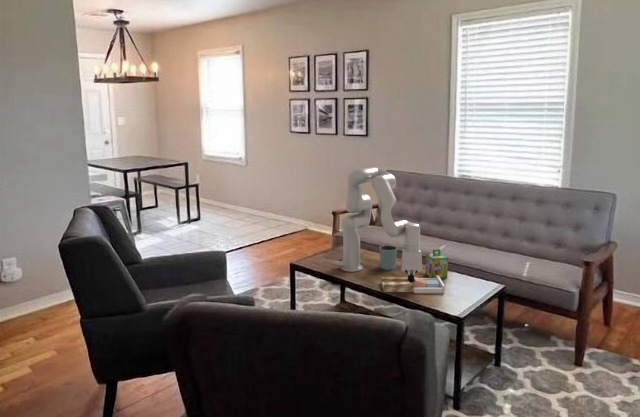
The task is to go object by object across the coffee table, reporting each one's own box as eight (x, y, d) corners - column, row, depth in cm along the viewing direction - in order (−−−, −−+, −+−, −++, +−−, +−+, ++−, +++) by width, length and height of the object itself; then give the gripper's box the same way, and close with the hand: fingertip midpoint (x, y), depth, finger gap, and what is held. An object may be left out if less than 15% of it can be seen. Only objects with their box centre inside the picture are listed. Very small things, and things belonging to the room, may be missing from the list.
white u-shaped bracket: (414, 293, 252) (414, 285, 251) (409, 282, 267) (409, 275, 266) (444, 293, 252) (444, 285, 251) (438, 282, 266) (438, 275, 265)
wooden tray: (383, 291, 254) (383, 285, 253) (381, 283, 266) (381, 277, 265) (413, 291, 253) (413, 285, 253) (410, 283, 265) (410, 277, 264)
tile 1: (413, 286, 256) (415, 280, 255) (411, 282, 262) (413, 276, 261) (424, 290, 256) (426, 283, 255) (422, 285, 262) (424, 279, 261)
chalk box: (432, 279, 271) (433, 253, 268) (424, 274, 280) (425, 248, 277) (447, 277, 273) (449, 251, 270) (439, 272, 282) (440, 247, 279)
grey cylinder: (397, 270, 286) (398, 250, 283) (379, 270, 286) (380, 250, 284) (395, 264, 296) (395, 245, 293) (378, 264, 296) (378, 245, 293)
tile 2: (426, 290, 256) (426, 283, 255) (424, 286, 262) (425, 279, 261) (438, 290, 256) (438, 283, 255) (436, 286, 262) (436, 279, 261)
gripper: (398, 249, 251) (397, 284, 255) (428, 249, 251) (426, 284, 255) (396, 245, 259) (395, 279, 263) (425, 245, 258) (424, 279, 262)
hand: (410, 281), depth 259 cm, fingers closed
